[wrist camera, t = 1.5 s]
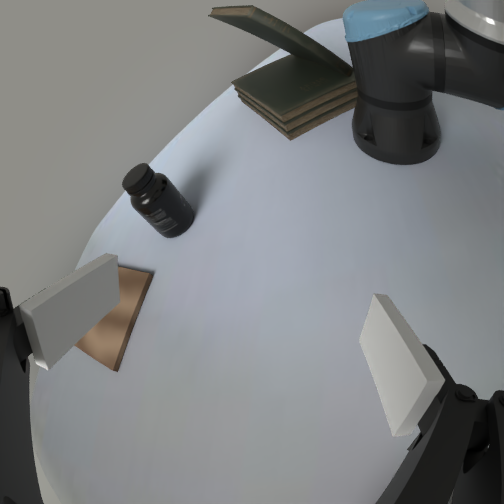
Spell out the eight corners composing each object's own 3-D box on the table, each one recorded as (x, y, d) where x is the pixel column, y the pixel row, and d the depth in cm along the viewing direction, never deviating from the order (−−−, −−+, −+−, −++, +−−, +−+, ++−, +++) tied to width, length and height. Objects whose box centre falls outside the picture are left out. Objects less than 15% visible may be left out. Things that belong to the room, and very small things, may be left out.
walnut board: (98, 263, 50) (94, 261, 49) (153, 276, 43) (149, 273, 42) (67, 339, 43) (63, 337, 42) (117, 371, 36) (112, 370, 35)
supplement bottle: (202, 207, 46) (162, 156, 37) (182, 242, 44) (136, 195, 34) (172, 204, 50) (133, 158, 40) (154, 236, 47) (109, 193, 37)
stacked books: (372, 101, 46) (348, -17, 26) (290, 143, 47) (237, 13, 27) (308, 70, 60) (278, -16, 40) (241, 102, 61) (195, 14, 41)
